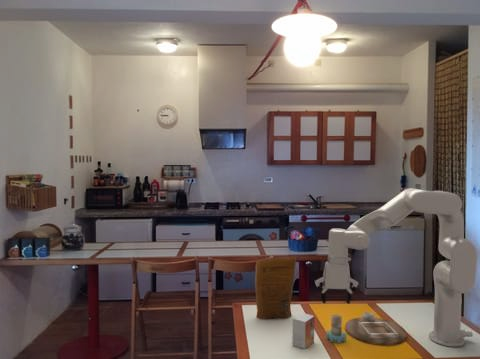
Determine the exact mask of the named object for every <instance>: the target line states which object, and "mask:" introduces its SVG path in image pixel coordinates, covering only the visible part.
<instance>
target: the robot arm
mask: <svg viewBox="0 0 480 359" xmlns="http://www.w3.org/2000/svg"><path fill="white" fill-rule="evenodd" d="M462 206H463V202H462V199H461V197H460V196H459V195H457V194H456V193H453V192H448V191H444V190H443V191H442V190H433V191H432V190H425V189H419V188H413V187H411V188H406V189H404V190H402V191H401V192H400V193H398V194H397V195H395V196H394V197H393V198H392V199H390V200H389V201H388V202H385V204H384V205H382V206H381V207H379V208H378V209H376V210H373V211H371V212H370V213H368V214H365V215H363V216H362V217H361V218H358V219H357V220H356V221H355V222H353V223H352V224H351V225H349V227H348V228H346V229H344V228H338V227H337V228H336V227H335V228H333V227H332V228H331V229H330V230H329V231H328V245H327V246H328V247H327V248H328V250H327V261H326V262H325V264H324V268H323V274H322V277H319V278H318V279H316V280H314V283H315V286H316V287H317V289H318V290H319V291H320V301H321V302H322V303H323V304H326V300H327V293H326V291H328V290H346V291H345V302H346V304H349V305H350V303H351V301H352V294H353V292H354V291H355V290H357V287H358V285H359V281H357V280H355V279H353V278H352V277H351V273H350V272H351V271H350V265H349V261H352V257H351V256H348V255H349V254H348V253H349V249H354V250H358V251H359V250H365V249H366V248H368V247H369V246H370V244H371V238H370V234H372V233H374V232H375V231H379V230H381V229H385V228H390V227H391V228H392V227H393V226H395V225H397V224H398V223H400V221H402V220H404V219H405V218H406V217H407V216H409V215H410V214H411V213H413V212H416V213H421V214H422V213H423V214H430V215H436V216H437V218H438V221H439V233H438V247H437V248H438V252H439V254H440V255H441V256H443V257H444V258H446V259H448V260H442V261H440V262H437V263H436V265H435V266H434V269H433V283H434V303H433V304H434V305H433V307H434V308H433V310H434V311H433V331H430V332H429V334H428V335H429V336H428V338H429V339H430V340H431V341H432V342H434V343H436V344H439V345H441V346H446V347H452V348H458V347H462V346H464V345H465V339H464V338H465V337H466V338H467V337H468V338H472V337H474V336H473V332H472V331H466V329H462V327H461V326H462V325H461V324H462V322H461V321H462V304H463V302H462V301H463V298H462V294H466V293H469V292H471V290H472V289H473V288H474V286H475V283H476V276H477V275H476V274H477V260H478V253H477V249H476V246H475V245H474V244H473V243H472V242H471V240H468V239H466V238H464V237H465V236H464V235H465V234H464V233H465V226H464V224H465V221H464V215H463V213H462V211H461V209H462ZM320 283H322V286H321V285H320ZM351 283H352V285H351Z"/></svg>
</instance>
